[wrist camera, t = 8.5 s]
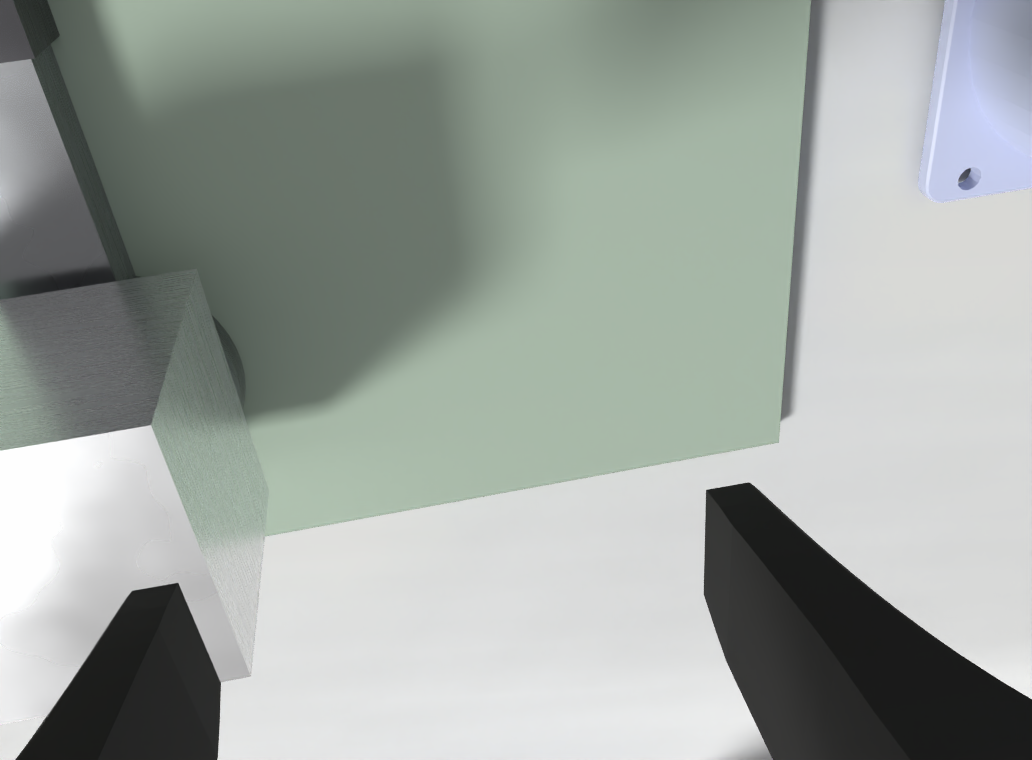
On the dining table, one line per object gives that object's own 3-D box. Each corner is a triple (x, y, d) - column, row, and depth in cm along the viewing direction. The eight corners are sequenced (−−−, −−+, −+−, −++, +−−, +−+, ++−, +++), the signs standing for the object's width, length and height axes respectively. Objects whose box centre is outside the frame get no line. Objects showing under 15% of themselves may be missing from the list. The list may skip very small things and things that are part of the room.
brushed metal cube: (196, 268, 17) (150, 425, 13) (268, 490, 20) (251, 676, 16) (-107, 316, 17) (-254, 494, 13) (13, 537, 20) (-73, 739, 16)
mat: (857, -916, 12) (879, -945, 12) (769, 429, 24) (779, 442, 24) (-1422, -767, 10) (-1514, -795, 10) (-270, 617, 22) (-285, 636, 22)
